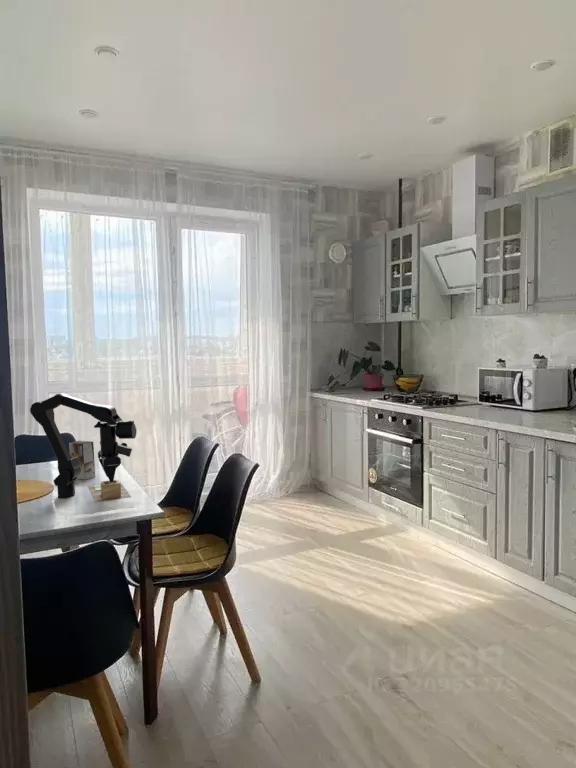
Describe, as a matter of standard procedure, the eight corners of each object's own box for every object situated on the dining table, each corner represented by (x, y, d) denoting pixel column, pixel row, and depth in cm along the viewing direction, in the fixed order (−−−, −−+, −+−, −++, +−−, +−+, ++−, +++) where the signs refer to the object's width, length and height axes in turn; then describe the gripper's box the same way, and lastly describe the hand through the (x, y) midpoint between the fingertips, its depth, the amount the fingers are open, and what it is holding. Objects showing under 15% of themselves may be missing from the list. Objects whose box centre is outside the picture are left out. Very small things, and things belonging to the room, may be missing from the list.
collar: (121, 495, 216) (120, 483, 216) (103, 498, 214) (102, 485, 213) (118, 492, 222) (117, 479, 222) (101, 494, 220) (100, 481, 219)
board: (131, 500, 215) (130, 483, 214) (95, 505, 209) (94, 487, 209) (120, 484, 240) (119, 469, 239) (87, 488, 234) (86, 472, 234)
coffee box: (96, 476, 256) (94, 441, 254) (85, 480, 250) (83, 443, 249) (81, 475, 260) (79, 440, 259) (70, 478, 254) (68, 442, 253)
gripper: (134, 440, 211) (135, 481, 213) (125, 433, 228) (127, 472, 229) (102, 443, 207) (104, 485, 208) (96, 436, 224) (98, 475, 225)
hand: (109, 479), depth 218 cm, fingers open, 9 cm apart
